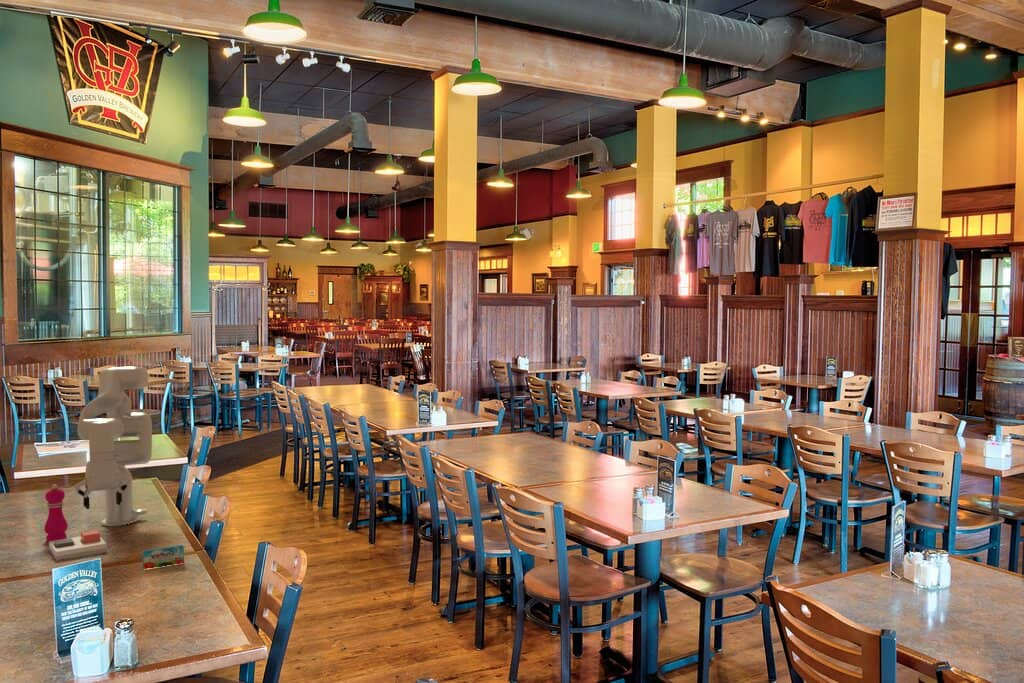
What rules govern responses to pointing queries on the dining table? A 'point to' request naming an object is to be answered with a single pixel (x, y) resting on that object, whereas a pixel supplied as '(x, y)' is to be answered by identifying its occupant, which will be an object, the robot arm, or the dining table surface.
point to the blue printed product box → (163, 556)
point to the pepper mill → (55, 515)
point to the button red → (90, 536)
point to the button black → (64, 543)
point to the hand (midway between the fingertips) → (103, 506)
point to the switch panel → (78, 548)
